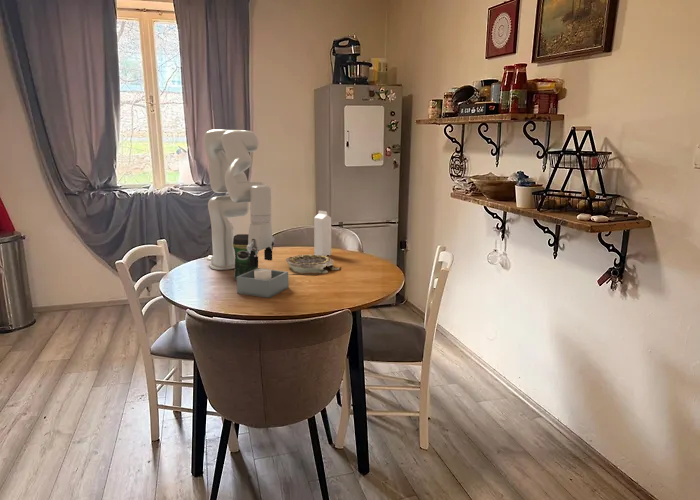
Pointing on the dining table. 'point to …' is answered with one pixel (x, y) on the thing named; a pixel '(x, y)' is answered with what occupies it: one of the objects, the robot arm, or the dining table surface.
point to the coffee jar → (241, 255)
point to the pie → (310, 264)
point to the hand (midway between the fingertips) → (261, 263)
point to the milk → (322, 234)
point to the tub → (262, 284)
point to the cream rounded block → (262, 274)
